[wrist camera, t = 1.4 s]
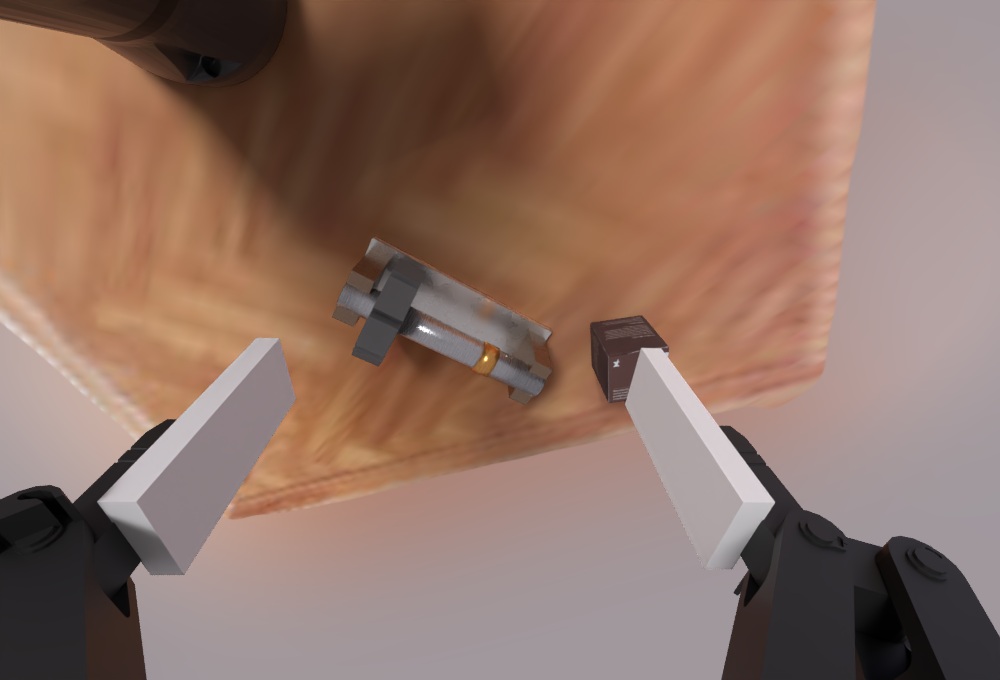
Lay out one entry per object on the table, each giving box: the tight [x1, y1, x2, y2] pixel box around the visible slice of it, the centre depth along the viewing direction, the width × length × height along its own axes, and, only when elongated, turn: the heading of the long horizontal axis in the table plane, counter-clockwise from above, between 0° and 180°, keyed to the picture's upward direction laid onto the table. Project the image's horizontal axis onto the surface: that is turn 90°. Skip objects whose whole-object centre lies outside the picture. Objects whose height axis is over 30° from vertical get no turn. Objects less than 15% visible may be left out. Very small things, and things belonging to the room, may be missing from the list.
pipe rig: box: [332, 236, 553, 405], centre depth 39 cm, size 21×7×8 cm, turn 59°
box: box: [590, 316, 669, 403], centre depth 42 cm, size 6×6×7 cm
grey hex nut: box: [352, 258, 425, 366], centre depth 35 cm, size 2×9×9 cm, turn 149°
